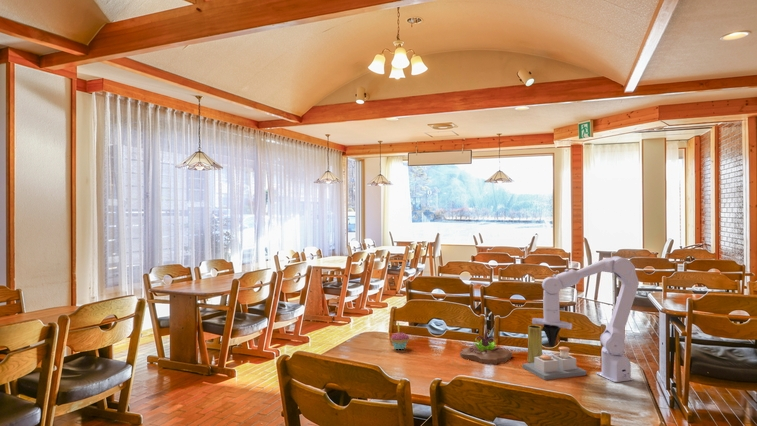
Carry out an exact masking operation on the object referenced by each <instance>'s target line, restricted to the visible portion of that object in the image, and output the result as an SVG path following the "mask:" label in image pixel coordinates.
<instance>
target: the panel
mask: <svg viewBox="0 0 757 426" xmlns="http://www.w3.org/2000/svg"><path fill="white" fill-rule="evenodd" d="M568 357H569V359H562V358H560V354H554V355H552V356H551V360H550V361H543V360H542V359H541V356H540V357H534V363H529V362H526V363H522V366H521V367H522V369H524V370H526V371H528V372H530V373H532V374H533V375H535V376H536V377H539V378H540V379H542V380H544V381H546V380H556V379H564V378H572V377H580V376H582V377H583V376H587V370H585V369H583V368H581V367H579V366H577V358H576V357H574V356H571V355H569V354H568Z"/></svg>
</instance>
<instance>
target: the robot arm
mask: <svg viewBox="0 0 757 426" xmlns="http://www.w3.org/2000/svg"><path fill="white" fill-rule="evenodd" d="M603 272H605V273H610V274H612V273H613V274H614V275H615V276H616V277H617V278H618V280H619V282H620V283H621V286H620V290H619V293H618V296H617V297H616V298H617V299H616V302H615V304H614V308H613V310H612V311H613V312H612V314H611V318H610V321H609V323H608V325H606V327H605V329H604V331H603V333H601V334H600V337H599V341H600V344H601V345H602V348H601V352H600V353H601V355H600V356H601V357H600V358H601V371H597V372H595V374H596V375H598V376H600V377H603V378H605V379H607V380H609V381H611V382H612V383H613V382H614V383H619V382H628V381H633V380H634V379H633V378H632V376H631V375H632V374H631V371H632V369H631V361H630V359H629V358H628V357H626V356H625V354H624V351H625V349H626V348H625V347H626V345H625V339H626V334H625V329H626V326H627V323H628V320H629V316H630V313H631V310H632V306H633V304H634V301H635V297H636V295H637V292H638V288H639V285H640V282H639V279H638V275H637V272H636V267H635V265H634V264H633V263H632V261H631V260H629V258H626V257H621V256H620V255H619V256H618V255H613V256H611V257H607V258H603V259H601V260H599V261H597V262H594V263H592V264H589V265H587V266H584V267H582V268H580V269H578V270H575V269H573V268H571V269H570V268H565V269H564V271H562V272H560V273H558V274H556V273H554V274H552V277H551V276H548V277H545V278H544V279H543V280H542V283H541V287H542V289H543V296H542V298H543V299H542V303H543V305H542V307H543V311H542V312H543V318H540V317H538V318H537V317H533V318H532V319H531V320H532V321H531V323H532V324H531V325H540V326H541V325H542V330H543V332H544V333H545V335H546V338H547V342H548V346H550V347H554V346H556V341H557V338H558V335H559V333H560V330H561V329H567V330H572V329H573V322H567V321H563V320H560V317H561V315H560V296H559V292H560V291H561V290H564V289H567V288H570V287H572V286H575V285H577V284H579V283H580V282H581V279H584V278H586V277H589V276H593V275H596V274H599V273H603Z"/></svg>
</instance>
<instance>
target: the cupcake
mask: <svg viewBox="0 0 757 426" xmlns="http://www.w3.org/2000/svg"><path fill="white" fill-rule="evenodd" d="M390 342H391V344H392V346H393V348H395V350H396V349H404V348H405V349H406V346H407V343H408V342H410V336H409V335H408V334H407V333H404V332H400V323H399V322H397V332H395V333H393V334H392V335H391V336H390ZM405 349H404V350H405Z"/></svg>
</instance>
